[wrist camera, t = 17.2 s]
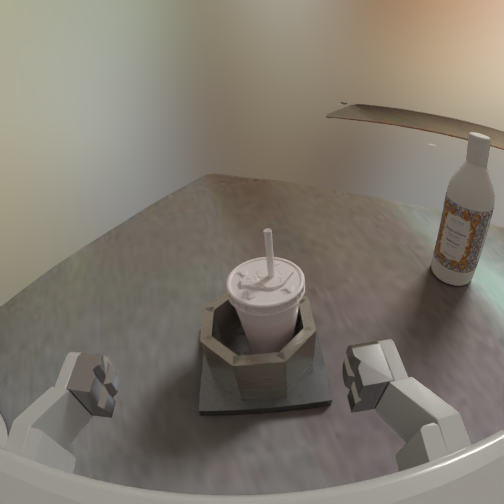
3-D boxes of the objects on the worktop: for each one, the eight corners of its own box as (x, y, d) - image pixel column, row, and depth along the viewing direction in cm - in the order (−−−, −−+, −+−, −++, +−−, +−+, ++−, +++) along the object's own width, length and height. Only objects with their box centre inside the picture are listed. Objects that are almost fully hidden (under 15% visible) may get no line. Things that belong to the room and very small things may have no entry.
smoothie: (313, 368, 28) (319, 245, 20) (248, 386, 27) (222, 267, 19) (292, 323, 33) (287, 205, 25) (234, 337, 32) (210, 221, 25)
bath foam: (421, 270, 39) (444, 129, 28) (443, 252, 42) (465, 126, 31) (459, 294, 34) (497, 146, 23) (478, 273, 37) (510, 142, 26)
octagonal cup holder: (200, 415, 26) (181, 379, 22) (208, 324, 36) (196, 282, 32) (330, 404, 25) (338, 366, 22) (311, 315, 35) (312, 270, 32)
